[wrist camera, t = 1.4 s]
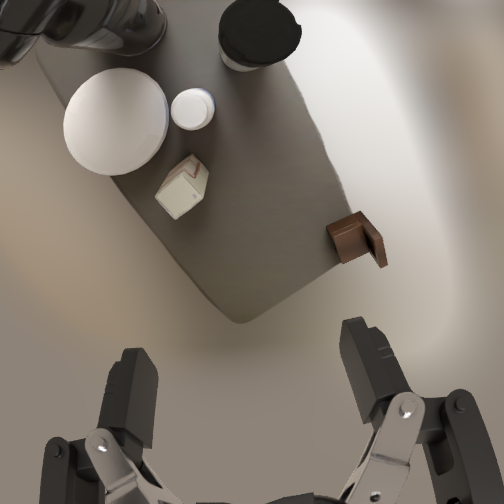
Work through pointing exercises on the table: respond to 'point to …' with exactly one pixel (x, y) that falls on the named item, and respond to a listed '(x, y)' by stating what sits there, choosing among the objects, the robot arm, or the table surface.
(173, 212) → the cream cosmetic box
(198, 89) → the pill bottle
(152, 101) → the white domed disc
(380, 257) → the miniature wooden chair
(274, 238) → the table surface
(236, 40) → the spray can
